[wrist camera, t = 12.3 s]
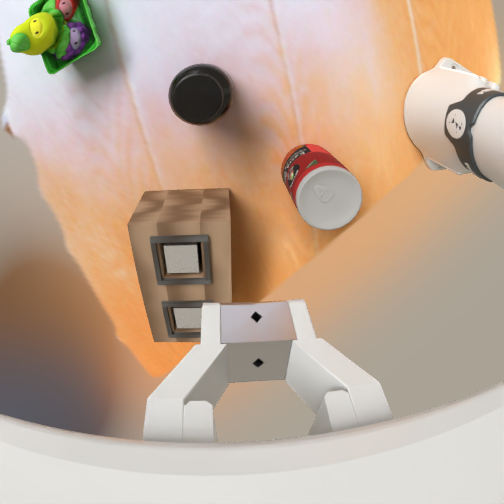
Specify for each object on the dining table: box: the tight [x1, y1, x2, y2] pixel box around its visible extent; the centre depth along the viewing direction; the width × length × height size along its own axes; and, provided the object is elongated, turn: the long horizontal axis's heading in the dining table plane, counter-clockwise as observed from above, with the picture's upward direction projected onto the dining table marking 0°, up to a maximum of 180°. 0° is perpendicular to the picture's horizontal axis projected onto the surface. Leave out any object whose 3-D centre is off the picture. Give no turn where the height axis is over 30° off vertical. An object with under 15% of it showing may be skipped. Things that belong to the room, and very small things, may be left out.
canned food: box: [281, 144, 362, 230], centre depth 39 cm, size 8×8×11 cm
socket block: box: [128, 188, 232, 342], centre depth 45 cm, size 12×20×11 cm, turn 179°
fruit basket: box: [7, 0, 102, 74], centre depth 24 cm, size 11×9×11 cm
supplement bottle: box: [168, 64, 234, 126], centre depth 31 cm, size 7×7×12 cm
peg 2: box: [173, 307, 202, 328], centre depth 47 cm, size 4×4×9 cm
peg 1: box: [164, 242, 201, 273], centre depth 42 cm, size 4×4×9 cm
